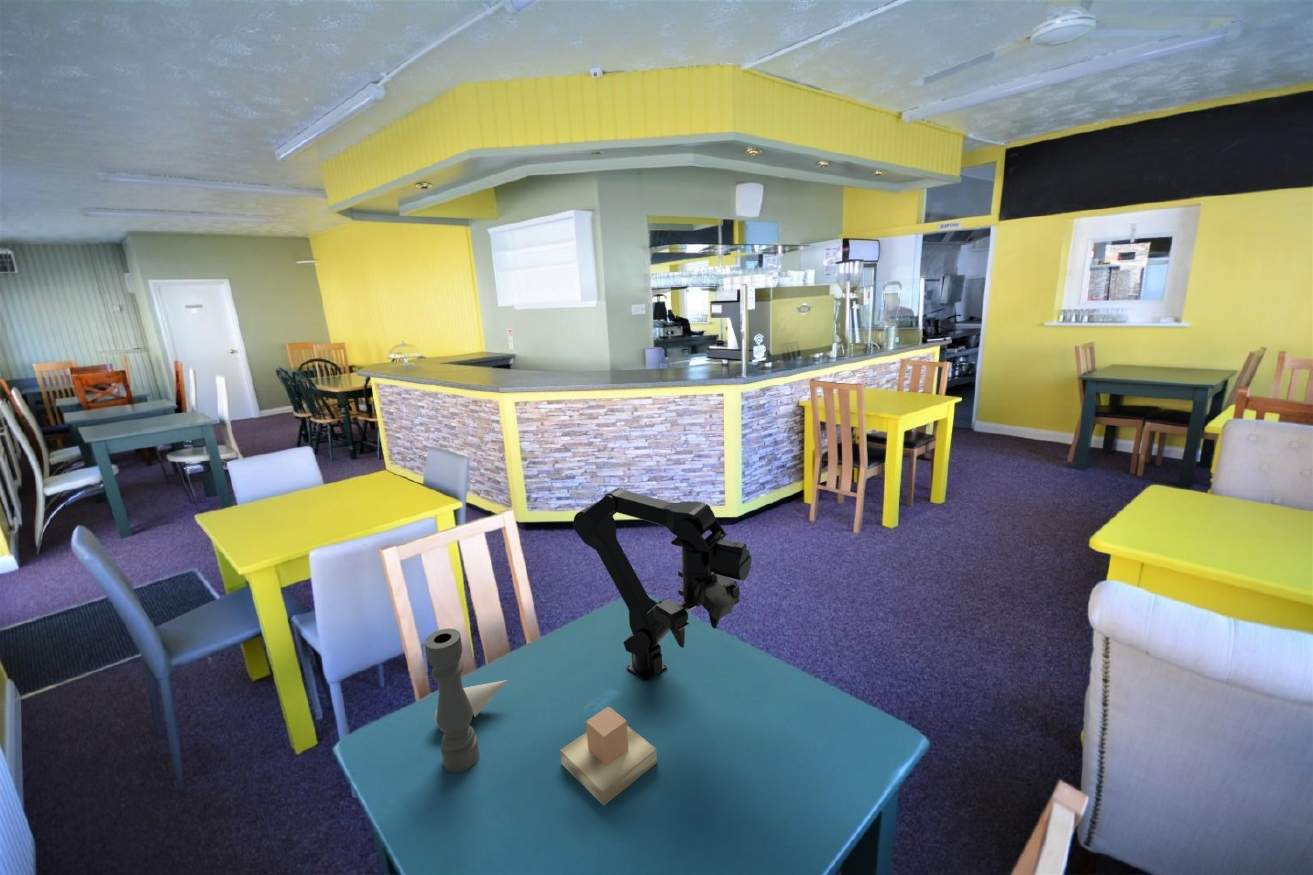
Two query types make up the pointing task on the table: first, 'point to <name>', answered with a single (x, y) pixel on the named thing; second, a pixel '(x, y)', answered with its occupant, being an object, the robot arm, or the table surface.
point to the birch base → (608, 766)
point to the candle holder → (452, 701)
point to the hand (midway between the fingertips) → (698, 636)
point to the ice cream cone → (481, 695)
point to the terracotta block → (607, 735)
